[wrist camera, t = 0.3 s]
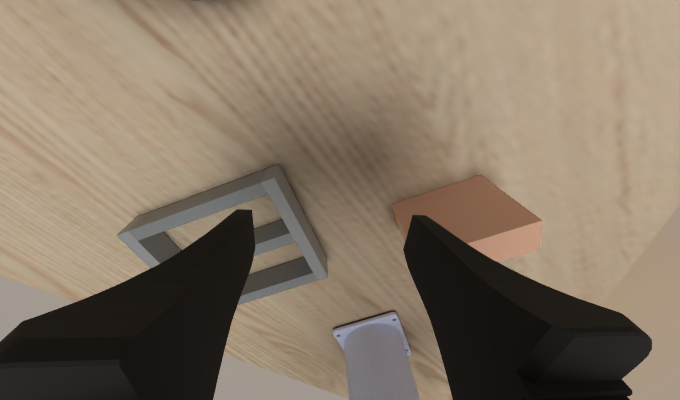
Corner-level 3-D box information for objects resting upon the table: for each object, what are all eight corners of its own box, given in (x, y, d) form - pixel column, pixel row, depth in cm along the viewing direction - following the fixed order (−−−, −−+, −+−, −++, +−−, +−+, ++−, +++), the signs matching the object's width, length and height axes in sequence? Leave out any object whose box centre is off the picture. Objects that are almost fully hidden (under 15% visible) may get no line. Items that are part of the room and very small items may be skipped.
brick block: (482, 197, 23) (540, 248, 17) (397, 225, 24) (424, 283, 18) (480, 174, 22) (542, 220, 16) (391, 204, 23) (417, 258, 17)
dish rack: (326, 257, 25) (327, 276, 23) (210, 295, 27) (200, 316, 25) (278, 164, 20) (274, 177, 18) (136, 216, 21) (116, 235, 19)
